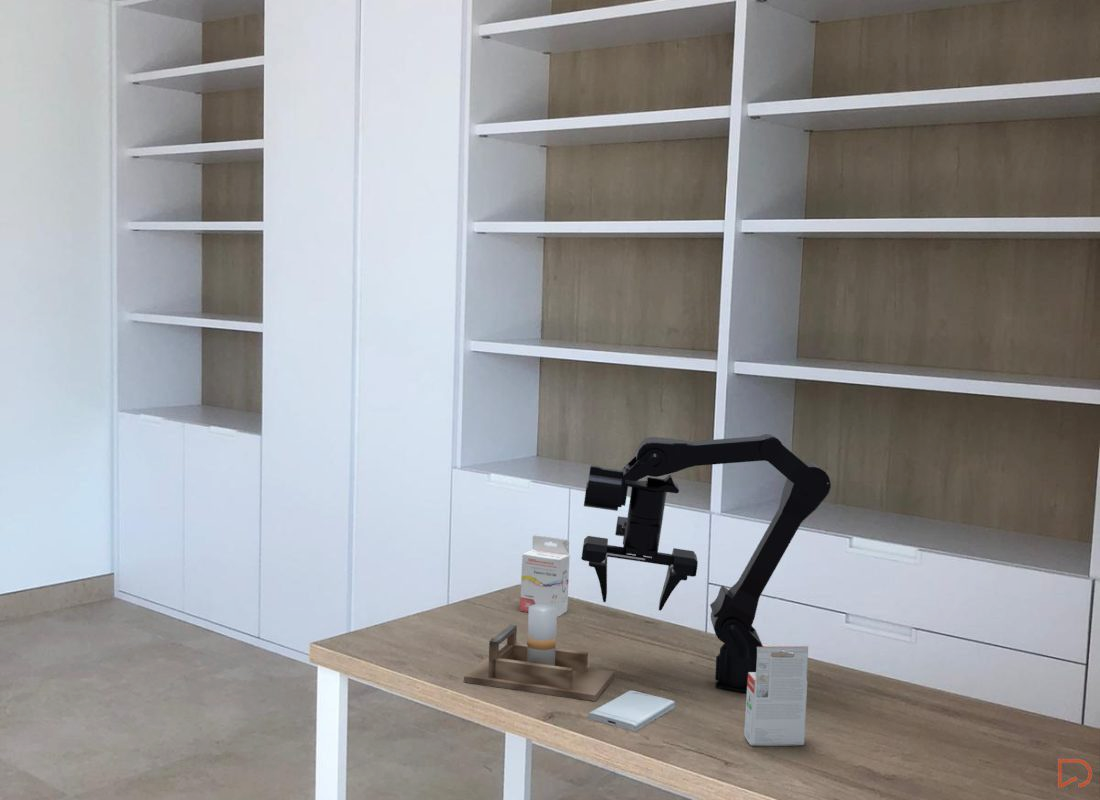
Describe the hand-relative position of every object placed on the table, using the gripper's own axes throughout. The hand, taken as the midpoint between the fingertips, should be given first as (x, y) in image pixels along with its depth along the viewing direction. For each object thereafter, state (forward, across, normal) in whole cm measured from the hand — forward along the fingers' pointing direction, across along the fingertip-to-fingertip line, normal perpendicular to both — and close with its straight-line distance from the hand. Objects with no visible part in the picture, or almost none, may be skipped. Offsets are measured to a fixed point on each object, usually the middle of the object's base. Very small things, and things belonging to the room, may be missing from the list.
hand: (632, 605), depth 187 cm
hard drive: (+12, -2, +17) cm, 21 cm away
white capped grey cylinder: (+12, +13, +4) cm, 19 cm away
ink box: (+9, -22, +25) cm, 34 cm away
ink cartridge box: (+16, +16, -35) cm, 42 cm away
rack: (+13, +13, +4) cm, 19 cm away
